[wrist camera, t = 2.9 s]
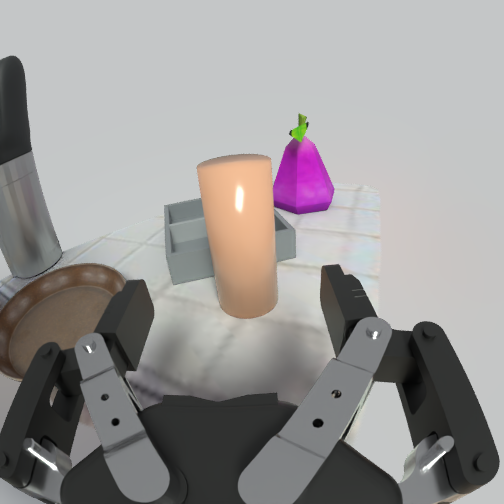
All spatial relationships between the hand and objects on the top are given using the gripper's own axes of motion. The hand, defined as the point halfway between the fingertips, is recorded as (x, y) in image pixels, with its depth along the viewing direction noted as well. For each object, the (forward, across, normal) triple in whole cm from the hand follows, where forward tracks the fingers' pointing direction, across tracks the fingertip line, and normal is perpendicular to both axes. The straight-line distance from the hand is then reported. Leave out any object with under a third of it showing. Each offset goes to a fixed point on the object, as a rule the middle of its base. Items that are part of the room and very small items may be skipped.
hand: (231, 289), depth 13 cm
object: (+7, +20, +10) cm, 23 cm away
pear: (+35, -9, +10) cm, 37 cm away
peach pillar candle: (+12, 0, +10) cm, 15 cm away
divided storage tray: (+24, +4, +10) cm, 26 cm away
